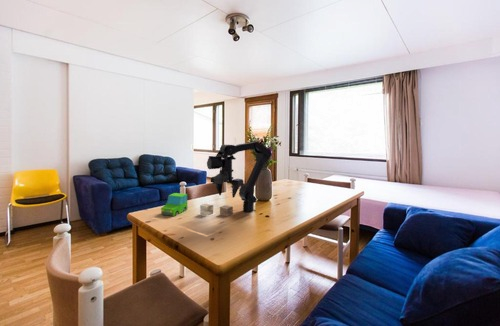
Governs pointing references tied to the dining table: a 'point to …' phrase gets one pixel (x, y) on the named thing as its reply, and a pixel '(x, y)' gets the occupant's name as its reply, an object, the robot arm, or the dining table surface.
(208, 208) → the beech block
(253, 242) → the dining table surface
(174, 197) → the toy car
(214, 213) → the board
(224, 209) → the walnut block
